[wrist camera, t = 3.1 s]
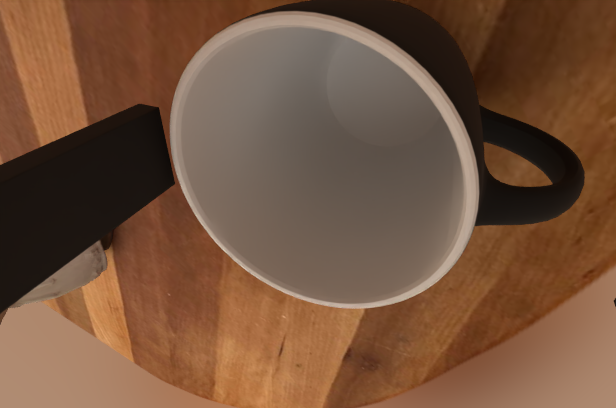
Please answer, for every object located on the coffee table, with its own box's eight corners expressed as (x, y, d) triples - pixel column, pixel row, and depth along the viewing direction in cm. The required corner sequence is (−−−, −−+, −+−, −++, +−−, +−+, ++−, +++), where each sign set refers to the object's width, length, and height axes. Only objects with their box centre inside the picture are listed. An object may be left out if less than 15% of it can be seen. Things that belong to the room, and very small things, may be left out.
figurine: (58, 181, 34) (-167, 301, 22) (118, 207, 32) (-91, 349, 21) (79, 245, 39) (-97, 370, 27) (132, 270, 37) (-31, 414, 26)
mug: (296, 148, 22) (186, 258, 14) (305, -32, 17) (139, -16, 9) (517, 206, 19) (531, 390, 11) (616, 2, 13) (783, 77, 6)
